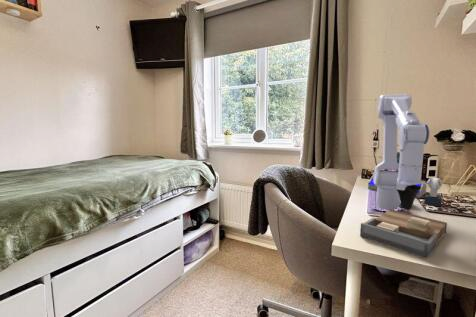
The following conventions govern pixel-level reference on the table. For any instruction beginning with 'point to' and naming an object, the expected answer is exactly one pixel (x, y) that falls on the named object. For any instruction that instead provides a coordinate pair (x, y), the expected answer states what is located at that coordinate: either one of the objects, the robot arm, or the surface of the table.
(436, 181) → the grey and teal figurine
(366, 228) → the slate bin
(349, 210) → the table surface
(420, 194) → the roof
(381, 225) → the tile
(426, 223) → the tile
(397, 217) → the walnut board
